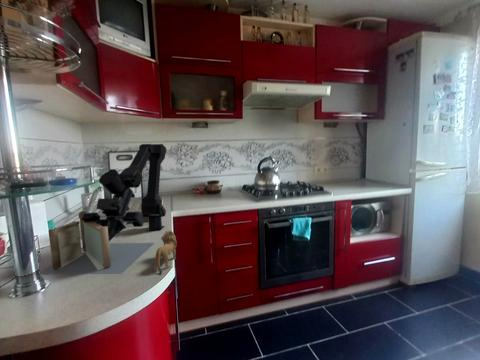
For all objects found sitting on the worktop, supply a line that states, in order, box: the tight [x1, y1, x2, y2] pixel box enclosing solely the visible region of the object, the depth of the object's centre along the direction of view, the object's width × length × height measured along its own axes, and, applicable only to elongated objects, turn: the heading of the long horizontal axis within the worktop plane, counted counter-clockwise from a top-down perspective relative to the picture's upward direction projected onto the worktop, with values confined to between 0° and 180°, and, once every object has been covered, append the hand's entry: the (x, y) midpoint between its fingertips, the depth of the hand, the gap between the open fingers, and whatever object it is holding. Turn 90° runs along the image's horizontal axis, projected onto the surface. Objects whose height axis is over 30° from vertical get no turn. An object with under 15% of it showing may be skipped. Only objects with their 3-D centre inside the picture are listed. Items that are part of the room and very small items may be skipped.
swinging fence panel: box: [82, 220, 111, 268], centre depth 80 cm, size 2×20×12 cm, turn 47°
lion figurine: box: [153, 230, 178, 275], centre depth 75 cm, size 15×5×9 cm, turn 6°
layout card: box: [39, 242, 155, 275], centre depth 83 cm, size 24×26×1 cm
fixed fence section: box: [48, 210, 88, 270], centre depth 81 cm, size 16×3×14 cm, turn 177°
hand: (104, 243), depth 77 cm, fingers closed
